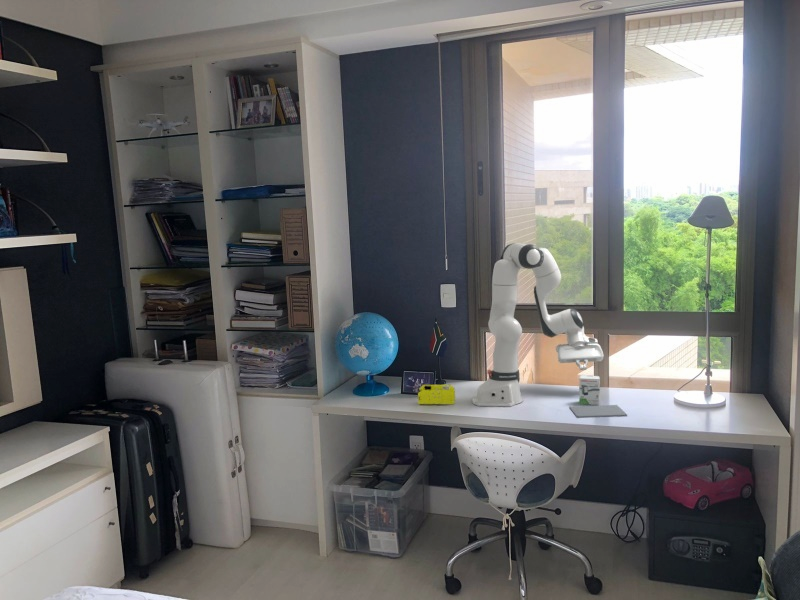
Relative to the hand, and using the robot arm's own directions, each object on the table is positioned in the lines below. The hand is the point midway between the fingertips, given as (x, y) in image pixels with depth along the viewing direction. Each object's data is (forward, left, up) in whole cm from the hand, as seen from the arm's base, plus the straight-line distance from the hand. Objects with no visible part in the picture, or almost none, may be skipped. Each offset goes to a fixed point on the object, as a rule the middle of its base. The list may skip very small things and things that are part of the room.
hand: (583, 369), depth 289 cm
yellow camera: (-67, -3, -13) cm, 68 cm away
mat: (0, -24, -13) cm, 27 cm away
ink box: (0, -11, -13) cm, 17 cm away
